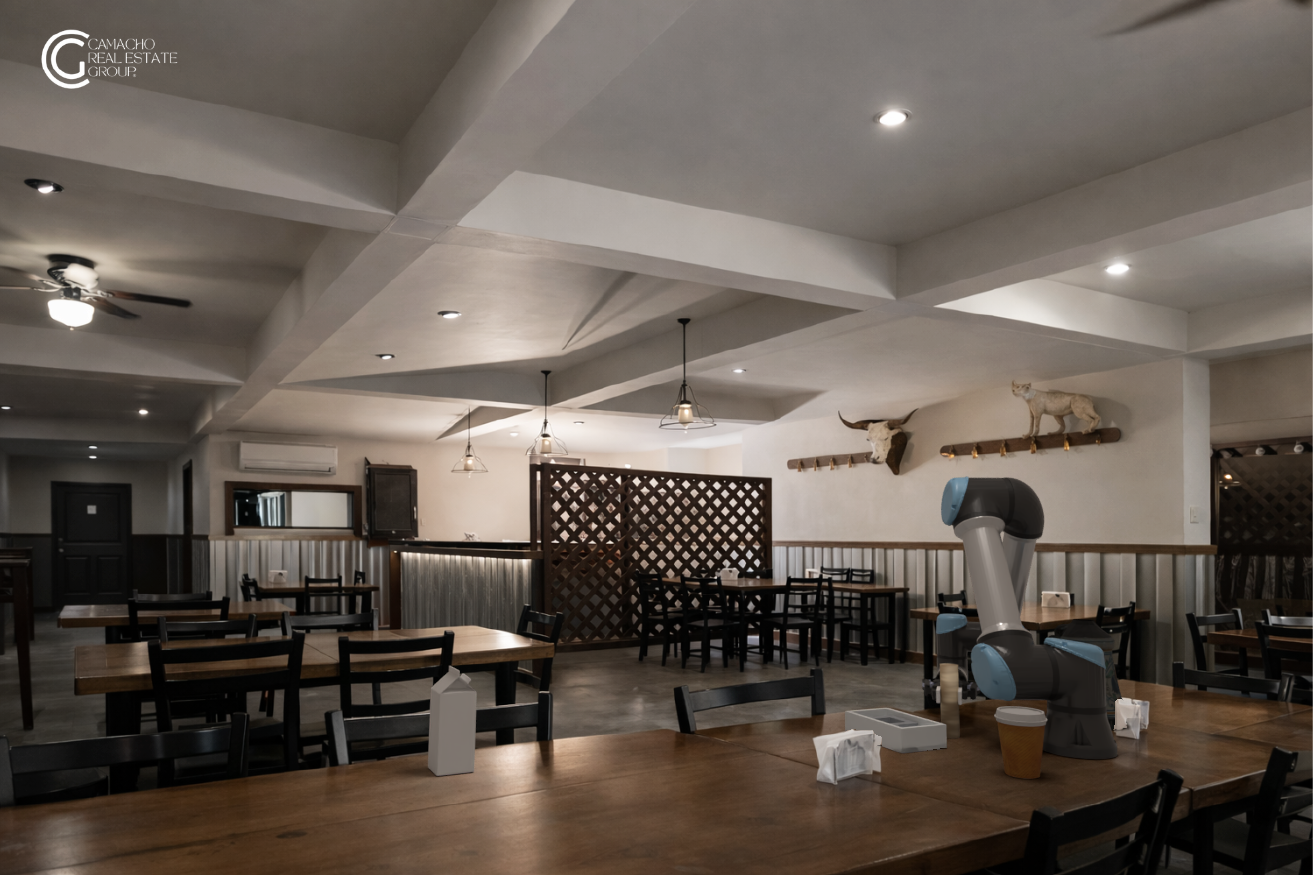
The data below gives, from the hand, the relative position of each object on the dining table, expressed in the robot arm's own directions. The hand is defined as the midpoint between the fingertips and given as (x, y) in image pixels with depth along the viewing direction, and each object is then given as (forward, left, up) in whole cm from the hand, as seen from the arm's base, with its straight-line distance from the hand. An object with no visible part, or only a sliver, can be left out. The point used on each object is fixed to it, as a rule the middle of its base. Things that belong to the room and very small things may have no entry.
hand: (948, 697), depth 202 cm
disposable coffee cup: (-27, +6, -10) cm, 29 cm away
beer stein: (+4, -46, -10) cm, 47 cm away
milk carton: (+15, +107, -10) cm, 109 cm away
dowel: (+4, -4, -10) cm, 11 cm away
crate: (+5, +11, -10) cm, 16 cm away
